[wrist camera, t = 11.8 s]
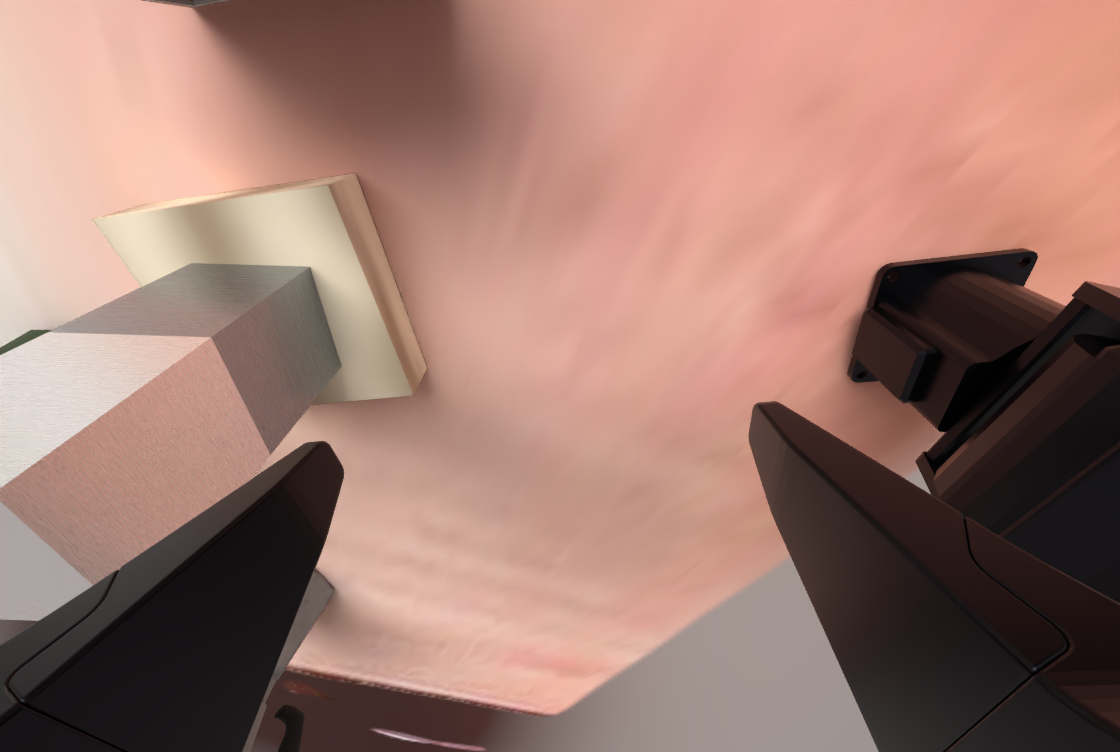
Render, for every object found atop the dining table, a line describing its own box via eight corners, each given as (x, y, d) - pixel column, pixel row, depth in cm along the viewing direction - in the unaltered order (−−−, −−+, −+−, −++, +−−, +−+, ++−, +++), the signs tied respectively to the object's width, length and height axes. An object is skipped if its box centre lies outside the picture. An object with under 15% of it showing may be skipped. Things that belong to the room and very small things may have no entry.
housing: (310, 266, 18) (-9, 494, 8) (341, 366, 21) (134, 624, 11) (191, 263, 18) (-269, 485, 8) (239, 362, 21) (-59, 616, 11)
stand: (355, 173, 18) (328, 185, 16) (427, 368, 24) (413, 395, 22) (143, 204, 19) (91, 219, 17) (260, 384, 25) (232, 412, 23)
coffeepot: (177, 564, 36) (-102, 908, 21) (237, 523, 32) (-46, 898, 17) (332, 637, 42) (204, 934, 28) (395, 609, 39) (288, 931, 24)
